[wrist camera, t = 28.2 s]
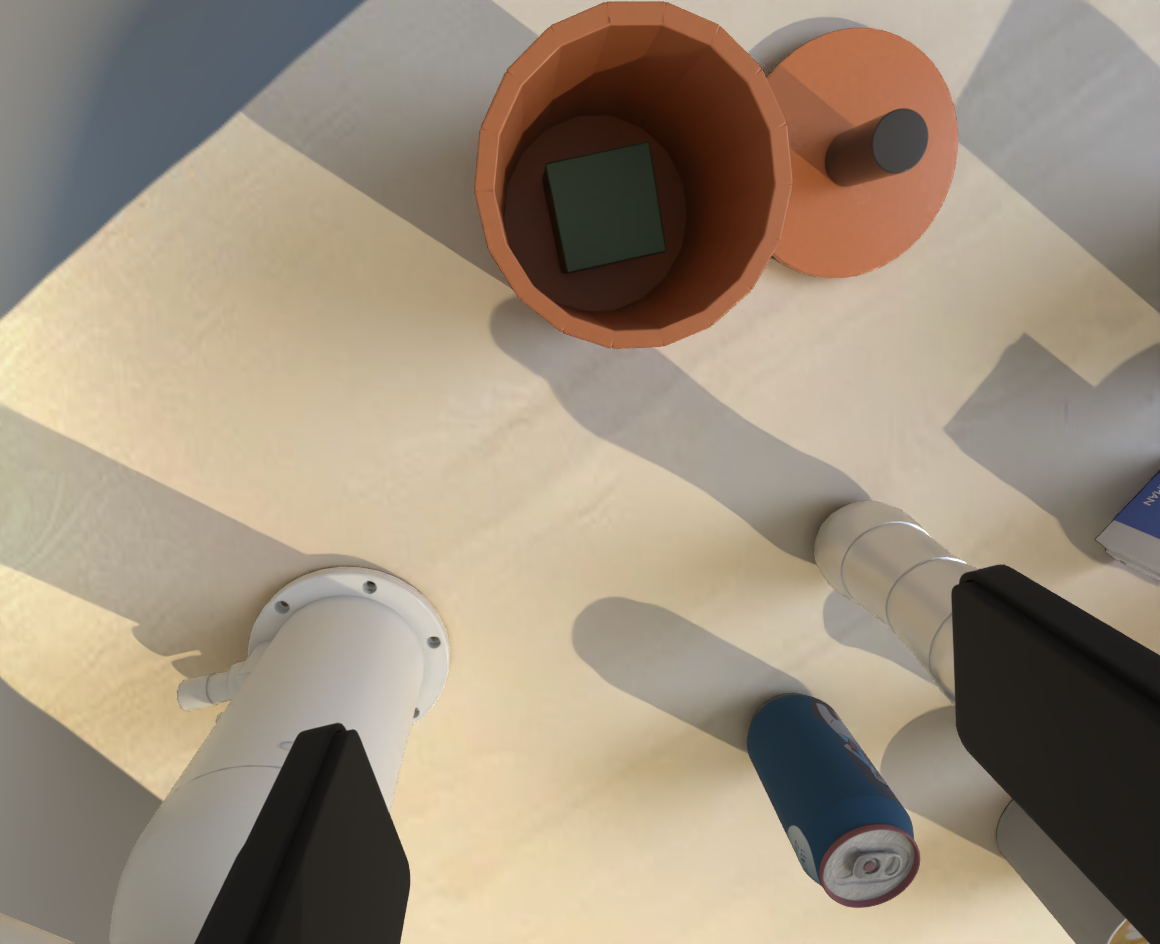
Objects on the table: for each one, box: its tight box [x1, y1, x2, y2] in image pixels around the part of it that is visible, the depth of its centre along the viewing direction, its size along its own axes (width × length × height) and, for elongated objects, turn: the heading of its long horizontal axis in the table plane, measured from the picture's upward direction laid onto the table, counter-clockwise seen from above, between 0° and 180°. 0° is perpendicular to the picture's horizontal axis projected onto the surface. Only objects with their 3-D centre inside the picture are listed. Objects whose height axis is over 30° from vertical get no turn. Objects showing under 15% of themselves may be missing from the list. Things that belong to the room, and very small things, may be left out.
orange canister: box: [474, 2, 793, 349], centre depth 29 cm, size 11×12×14 cm
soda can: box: [747, 694, 920, 908], centre depth 42 cm, size 7×7×12 cm
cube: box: [542, 142, 666, 273], centre depth 33 cm, size 5×5×5 cm
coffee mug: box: [997, 800, 1150, 944], centre depth 48 cm, size 13×10×10 cm
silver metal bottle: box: [814, 501, 978, 706], centre depth 34 cm, size 6×7×20 cm
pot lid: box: [767, 28, 958, 278], centre depth 33 cm, size 12×12×6 cm
